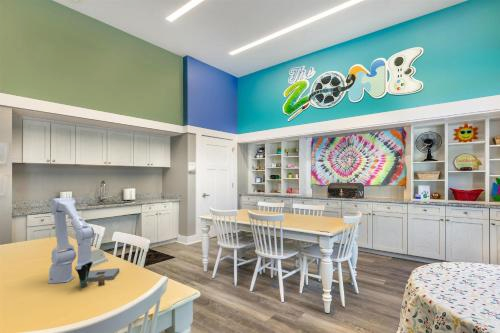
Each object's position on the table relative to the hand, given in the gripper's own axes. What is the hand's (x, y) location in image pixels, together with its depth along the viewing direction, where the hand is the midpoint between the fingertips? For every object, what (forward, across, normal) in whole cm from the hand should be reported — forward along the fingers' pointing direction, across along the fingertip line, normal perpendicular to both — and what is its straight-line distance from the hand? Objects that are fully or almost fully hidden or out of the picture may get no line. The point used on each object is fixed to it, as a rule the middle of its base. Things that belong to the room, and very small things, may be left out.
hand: (83, 279), depth 129 cm
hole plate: (+4, +12, -4) cm, 13 cm away
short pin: (+4, 0, -8) cm, 9 cm away
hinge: (+4, +36, +8) cm, 37 cm away
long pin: (+3, 0, 0) cm, 3 cm away
